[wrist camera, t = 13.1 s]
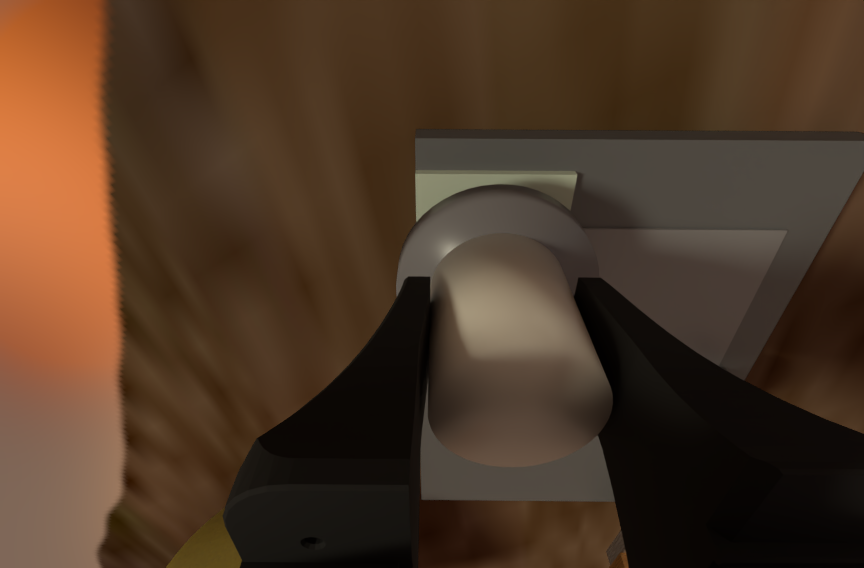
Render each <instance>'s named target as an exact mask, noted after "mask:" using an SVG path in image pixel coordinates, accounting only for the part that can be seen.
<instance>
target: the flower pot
mask: <svg viewBox="0 0 864 568" xmlns="http://www.w3.org/2000/svg"><path fill="white" fill-rule="evenodd" d="M224 510H225V508H224V509H222V510H221V511H220V512H219V513H217V514H216V515H215V516H214V517H212V518H211V519H210V520H209V521H208V522H207V523H205V524H204V525H203V526H202V527H201V528H200V529H199V530H198V531H197V532H196V533H195V534H194V535H193V536H192V537H191V538H190V539H189V540H188V541H187V542H186V543H185V544H184V546H183V547H182V548H181V549H180V550H179V551H178V553H177V554H176V555H175V556H174V558H173V559H172V560H171V562H170V563H169V564H168V566H167V567H166V568H240V565H241V562H242V559H241V557H240V555H239V553H238V551H237V549H236V547H235V545H234V543H233V541H232V539H231V537H230V535H229V533H228V531H227V529H226V527H225V524H224V520H223V513H224Z"/></svg>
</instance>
